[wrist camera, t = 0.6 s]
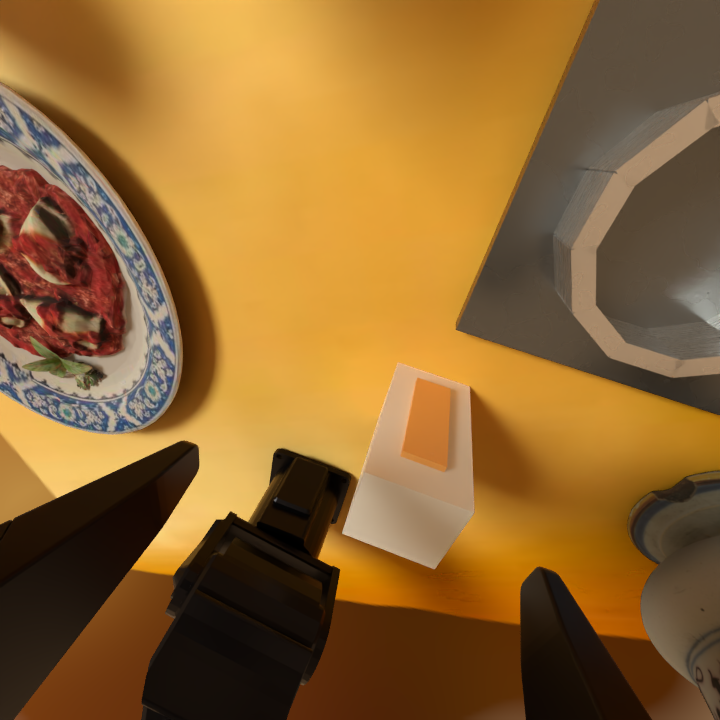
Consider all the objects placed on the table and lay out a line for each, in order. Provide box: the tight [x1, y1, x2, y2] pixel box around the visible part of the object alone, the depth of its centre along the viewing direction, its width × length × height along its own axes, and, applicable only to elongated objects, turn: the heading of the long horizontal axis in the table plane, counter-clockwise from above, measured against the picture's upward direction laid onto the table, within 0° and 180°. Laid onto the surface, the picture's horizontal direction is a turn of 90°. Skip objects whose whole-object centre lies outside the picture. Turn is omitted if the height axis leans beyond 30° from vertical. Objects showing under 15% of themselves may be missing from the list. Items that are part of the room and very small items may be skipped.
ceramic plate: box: [0, 82, 183, 434], centre depth 25 cm, size 26×26×3 cm
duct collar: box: [456, 0, 720, 415], centre depth 13 cm, size 14×14×4 cm
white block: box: [342, 362, 474, 570], centre depth 19 cm, size 5×5×9 cm
